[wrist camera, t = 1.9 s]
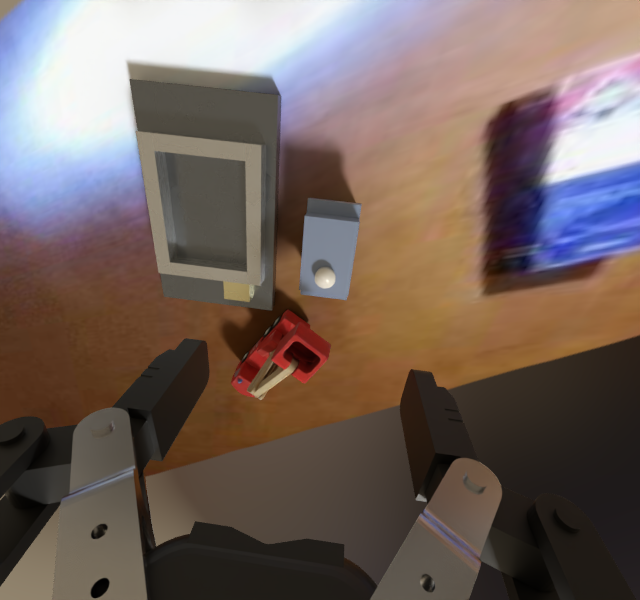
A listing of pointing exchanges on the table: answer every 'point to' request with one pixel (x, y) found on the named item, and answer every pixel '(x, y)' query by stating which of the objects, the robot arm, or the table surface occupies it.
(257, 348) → the toy fire truck
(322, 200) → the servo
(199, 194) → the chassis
